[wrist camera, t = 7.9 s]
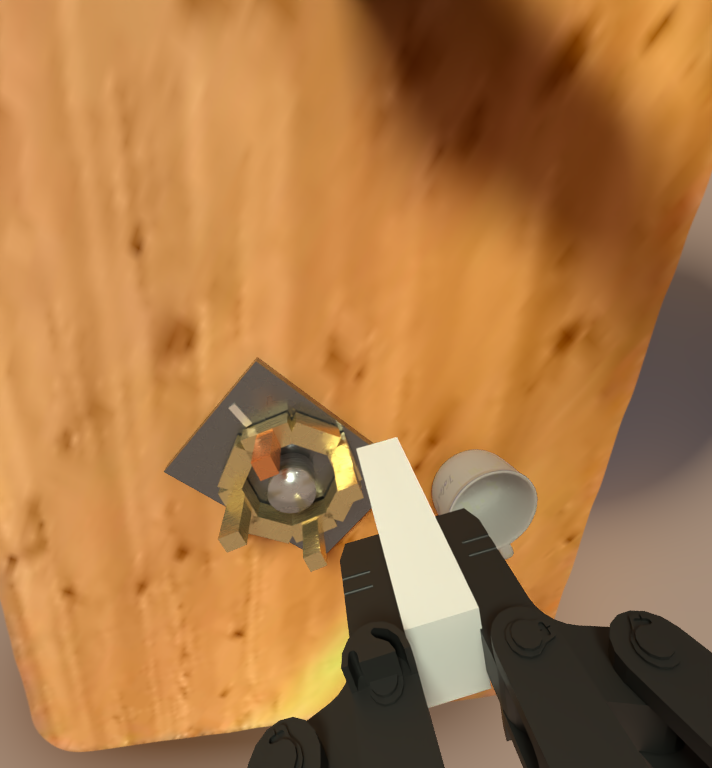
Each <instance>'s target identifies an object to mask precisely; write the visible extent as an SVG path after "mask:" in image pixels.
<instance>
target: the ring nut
mask: <svg viewBox="0 0 712 768" xmlns="http://www.w3.org/2000/svg"><path fill="white" fill-rule="evenodd" d="M290 444H294V445H297V446H300V447H303V448H306V449H309V450H313V451H316V452H319V453H322V454H325V455H327V456H328V458H329V460H330V463H331V465H332V467H333V469H334V473H335V478H334V480H333V482H332V484H331V486H330V488H329V490H328V492H327V494H326V496H325V498H324V499H322V500H320V501H317V502H315V503H312V504H311V505H310V506H309V507H308V508H307V509H305V510H303V511H301V512H297V513H284V512H280V511H278V510H276V509H275V508H274V507H273V506H271V505H268V504H264V503H260V502H259V500H258V498H257V496H256V495H255V493H254V491H253V489H252V488H251V486H250V484H249V482H248V481H247V479H246V478H247V476H248V474H249V471H250V469H251V467H253V468H254V470H255V472H256V474H257V476H258V477H259V479H260V481H262V480H265V479H267V478H270V477H272V476H275V475H277V474H279V471H280V455H281V448H282V447H285V446H287V445H290ZM360 480H362V477H361V474H360V471H359V467H358V465H357V462H356V460H355V458H354V455H353V453H352V450H351V448H350V446H349V443H348V441H347V439H346V436H345V434H344V432H343V433H340V432H339V428H338V427H337V426H334V425H331V424H328V423H325V422H323V421H320V420H317V419H314V418H311V417H309V416H306V415H303V414H300V413H297V412H296V413H295V415H294V417H293V420H292V421H291V419H290V417H289V414H288V412H287V413H284V414H281V415H279V416H276V417H274V418H271V419H269V420H266V421H264V422H261V423H258V424H256V425H253V426H251V427H248V428H246V429H243V432H242V436H239V435H237V437H236V440H235V442H234V444H233V447H232V449H231V452H230V454H229V457H228V459H227V461H226V464H225V466H224V469H223V471H222V474H221V477H220V480H219V483H218V486H217V487H220V489H219V492H218V495H219V496H220V498H221V500H222V501H223V503H224V504H225V506H226V510H225V514H224V518H223V522H222V526H221V529H220V533H219V537H218V540H219V541H220V543H221V544H222V546H223V547H224V549H225V550H226V552H230V551H232V550H235V549H237V548H240V547H242V546H245V545H247V539H248V534H252V535H256V536H260V537H264V538H268V539H272V540H276V541H280V542H284V543H289V542H290V540H291V538H292V536H293V537H294V539H295V541H296V543H298V542H300V541H303V559H304V560H305V562H306V564H307V566H308V568H309V569H310V571H311V572H312V571H314V570H317V569H319V568H322V567H324V566H327V557H326V548H325V538H324V532H325V531H327V530H330V529H332V528H335V527H337V521H336V520H339V521H342V522H343V521H344V519H345V517H346V515H347V513H348V511H349V510H350V508H351V506H352V504H353V502H355V501H357V500H360V499H362V498H364V497H363V493H362V489H361V487H362V486H361V482H360Z"/></svg>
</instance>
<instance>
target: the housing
mask: <svg viewBox="0 0 712 768" xmlns="http://www.w3.org/2000/svg"><path fill="white" fill-rule="evenodd" d="M287 412H288V414H289V417H290V419H291V421H292V420H293V417H294V415H295V413H296V412H297V413H300V414H303V415H306V416H309V417H311V418H314V419H317V420H320V421H323V422H325V423H328V424H331V425H334V426H337V427H338V428H339V432H340V433H343V432H344V434H345V436H346V439H347V441H348V443H349V446H350V448H351V450H352V453H353V455H354V458H355V460H356V462H357V465H358V467H359V471H360V474H361V477H362V480H360V482H361V486H362V487H361V489H362V493H363V497H364V498H362V499H360V500H357V501H355V502H353V504H352V506H351V508H350V510H349V511H348V513H347V515H346V517H345V519H344V521H343V522H342V521H339V520H336V521H337V527H335V528H332V529H330V530H327V531H325V532H324V538H325V548H326V554H327V553H328V552H329V551H330V550H331V548H332V547H333V546H334V545H335V544H336V543H337V542H338V541H339V540H340V539H341V538H342V537H343V536H344V535H345V534H346V533H347V532H348V531H349V530H350V529H351V528H352V527H353V526H354V525H355V524H356V523H357V522H358V521H359V520H360V519H361V518H362V517H363V516H364V515H365V514H366V513H367V512H368V511H369V510H370V509H371V508H372V506H371V503H370V499H369V495H368V491H367V488H366V484H365V480H364V476H363V472H362V469H361V465H360V461H359V457H358V454H357V450H356V449H357V448H360V447H364V446H367V445H371V444H374V443H372V442H371V441H370V440H368V439H367V438H365V437H364V436H363V435H361V434H360V433H359V432H357V431H356V430H355V429H353V428H352V427H351V426H349V425H348V424H347V423H345V422H344V421H343V420H341V419H340V418H339V417H337V416H336V415H335V414H333V413H332V412H330V411H329V410H328V409H326V408H325V407H324V406H322V405H321V404H320V403H318V402H317V401H316V400H314V399H313V398H312V397H310V396H309V395H308V394H306V393H305V392H304V391H302V390H301V389H300V388H298V387H297V386H296V385H294V384H293V383H291V382H290V381H289V380H287V379H286V378H285V377H283V376H282V375H281V374H279V373H278V372H277V371H275V370H274V369H273V368H271V367H270V366H269V365H267V364H266V363H265V362H263V361H262V360H261V359H259V358H258V357H257V358H256V359H255V360H254V362H253V363H252V364H251V365H250V366H249V368H248V369H247V370H246V371H245V372H244V374H243V375H242V376H241V377H240V378H239V380H238V381H237V382H236V383H235V384H234V386H233V387H232V388H231V389H230V391H229V392H228V393H227V394H226V395H225V397H224V398H223V399H222V400H221V401H220V403H219V404H218V405H217V406H216V407H215V409H214V410H213V411H212V412H211V413H210V415H209V416H208V417H207V418H206V419H205V421H204V422H203V423H202V424H201V425H200V427H199V428H198V429H197V430H196V431H195V433H194V434H193V435H192V436H191V437H190V439H189V440H188V441H187V442H186V443H185V445H184V446H183V447H182V448H181V449H180V451H179V452H178V453H177V454H176V455H175V457H174V458H173V459H172V460H171V461H170V463H169V464H168V465H167V467H166V469H165V471H164V472H165V473H167V474H168V475H170V476H172V477H174V478H176V479H177V480H179V481H181V482H183V483H185V484H186V485H188V486H190V487H192V488H194V489H195V490H197V491H199V492H201V493H203V494H204V495H206V496H208V497H210V498H211V499H213V500H215V501H217V502H219V503H220V504H222V505H224V506H225V504H224V503H223V501H222V500H221V498H220V496H219V495H218V492H219V489H220V487H217V486H218V483H219V480H220V477H221V474H222V471H223V469H224V466H225V464H226V461H227V459H228V457H229V454H230V452H231V449H232V447H233V444H234V442H235V440H236V437H237V435H239V436H242V432H243V429H246V428H248V427H251V426H253V425H256V424H258V423H261V422H264V421H266V420H269V419H271V418H274V417H276V416H279V415H281V414H284V413H287ZM334 478H335V473H334V469H333V467H332V465H331V463H330V460H329V458H328V456H327V455H325V454H322V453H319V452H316V451H313V450H309V449H306V448H303V447H300V446H297V445H294V444H290V445H287V446H285V447H282V448H281V455H280V471H279V474H277V475H275V476H272V477H270V478H267V479H265V480H262V481H260V479H259V477H258V476H257V474H256V472H255V470H254V468H253V467H251V469H250V471H249V474H248V476H247V478H246V479H247V481H248V482H249V484H250V486H251V488H252V489H253V491H254V493H255V495H256V496H257V498H258V500H259V502H260V503H264V504H268V505H271V506H273V507H274V508H275V509H276V510H278V511H280V512H284V513H297V512H301V511H303V510H305V509H307V508H308V507H309V506H310V505H311V504H312V503H315V502H317V501H320V500H322V499H324V498H325V496H326V494H327V492H328V490H329V488H330V486H331V484H332V482H333V480H334ZM290 543H292V544H294V545H296V546H297V547H299V548H301V549H303V541H300V542H298V543H296V541H295V539H294V537H293V536H292V538H291V540H290Z"/></svg>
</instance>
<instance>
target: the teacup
mask: <svg viewBox="0 0 712 768" xmlns="http://www.w3.org/2000/svg"><path fill="white" fill-rule="evenodd" d="M432 499H433V503H434V506H435V509H436V511H437V513H438V515H442V514H445V513H449V512H452V511H456V510H459V509H462V508H465V509H466V510H467V511H469V512H470V513H471V514H473V515H474V516H476V517H477V518H478V519H479V520H480V521H481V523H482V525H483V526H484V528H485V529H486V531H487V533H488V535H489V537H491V539H492V540H493V542H494V544H495V545H496V548H497V550H499V552H500V553H501V555H502V556H503V558H504V559H508V558H510V557H512V556H513V554H514V552H513V549H512V547H511V545H510V543H512V542H513V541H515V540H516V539H517V538H518V537H519V536H521V535H522V534H523V532H524V531H525V530H526V529H527V528H528V526H529V525H530V523H531V521H532V519H533V517H534V515H535V512H536V508H537V493H536V489H535V487H534V485H533V484H532V482H531V481H530V480H529V479H528V478H527V477H526V476H524V475H523V474H521V473H519V472H518V471H517V470H516V469H515V468H514V467H512V466H511V465H510V464H509V463H507V462H506V461H505V460H503V459H502V458H500V457H499V456H497V455H495V454H494V453H491V452H489V451H485V450H467V451H463V452H460V453H458V454H456V455H454V456H453V457H451V458H450V459H448V460H447V461H446V462H445V463H444V464H443V465H442V466H441V467H440V469H439V470H438V472H437V474H436V476H435V478H434V481H433V485H432Z"/></svg>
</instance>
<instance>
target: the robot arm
mask: <svg viewBox="0 0 712 768" xmlns="http://www.w3.org/2000/svg"><path fill="white" fill-rule="evenodd" d="M356 450H357V454H358V457H359V461H360V465H361V469H362V472H363V476H364V480H365V484H366V488H367V491H368V495H369V499H370V503H371V506H372V510H373V514H374V518H375V522H376V525H377V529H378V533H379V534H378V535H374V536H371V537H367V538H364V539H361V540H357V541H354V542H350V543H347V544H345V547H344V550H343V553H342V556H341V559H340V564H341V572H342V579H343V588H344V595H345V605H346V613H347V621H348V629H349V637H350V638H349V639H348V641H347V643H346V646H345V648H344V650H343V652H342V664H341V669H342V671H343V674H344V676H345V678H346V684H345V686H344V687H343V689H342V690H341V692H340V693H339V695H338V696H337V697H336V698H335V699H334V700H333V701H332V702H331V703H330V704H328V705H327V706H326V707H324V708H323V709H322V710H320V711H319V712H318V713H317V714H315V715H314V716H313V717H311V718H310V719H309V720H307V721H306V720H303V719H299V718H295V717H291V718H287V719H284V720H280V721H278V722H277V723H276V724H274V725H273V726H272V727H270V728H269V729H268V730H267V731H266V732H265V734H264V735H263V737H262V738H261V739H260V740H259V742H258V743H257V744H256V746H255V749H254V751H253V754H252V756H251V759H250V761H249V764H248V768H445V767H444V764H443V760H442V756H441V753H440V749H439V746H438V742H437V738H436V735H435V731H434V727H433V724H432V720H431V716H430V713H429V709H428V708H430V707H433V706H436V705H440V704H443V703H446V702H449V701H452V700H456V699H459V698H462V697H465V696H468V695H472V694H475V693H478V692H481V691H484V690H487V689H491V684H490V680H491V683H492V685H493V687H494V690H495V692H496V694H497V697H498V699H499V701H500V706H501V713H502V720H503V727H504V731H505V736H506V740H507V741H509V740H512V742H513V744H514V747H515V749H516V751H517V754H518V756H519V758H520V761H521V763H522V766H523V768H712V653H711V652H710V651H709V650H708V649H706V648H705V647H704V646H702V645H701V644H700V643H698V642H697V641H696V640H695V639H693V638H692V637H691V636H689V635H688V634H687V633H686V632H684V631H683V630H681V629H680V628H679V627H678V626H676V625H674V624H673V623H671V622H669V621H668V620H666V619H664V618H663V617H661V616H657V615H654V614H651V613H648V612H645V611H627V612H625V613H621V614H619V615H617V616H616V617H615V619H614V620H613V621H612V622H611V624H610V627H598V626H578V625H571V624H566V623H563V622H560V621H557V620H554V619H553V618H551V617H549V616H547V615H546V614H544V613H543V612H542V611H540V610H539V609H538V608H537V607H536V606H535V605H534V604H533V603H532V601H531V600H530V599H529V598H528V596H527V594H526V593H525V591H524V590H523V588H522V586H521V585H520V583H519V582H518V580H517V578H516V577H515V575H514V574H513V572H512V571H511V569H510V567H509V566H508V564H507V563H506V561H505V559H504V558H503V556H502V555H501V553H500V552H499V550H497V548H496V545H495V544H494V542H493V540H492V539H491V537H489V535H488V533H487V531H486V529H485V528H484V526H483V525H482V523H481V521H480V520H479V519H478V518H477V517H476V516H474V515H473V514H471V513H470V512H469V511H467V510H466V509H465V508H462V509H459V510H456V511H452V512H449V513H445V514H442V515H438V516H435V515H434V513H433V511H432V509H431V507H430V505H429V503H428V501H427V499H426V497H425V495H424V493H423V490H422V488H421V486H420V484H419V482H418V480H417V478H416V476H415V474H414V472H413V470H412V468H411V465H410V463H409V461H408V459H407V457H406V455H405V453H404V451H403V449H402V447H401V445H400V443H399V441H398V438H397V437H396V438H392V439H389V440H385V441H381V442H378V443H374V444H371V445H367V446H364V447H360V448H357V449H356Z"/></svg>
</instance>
